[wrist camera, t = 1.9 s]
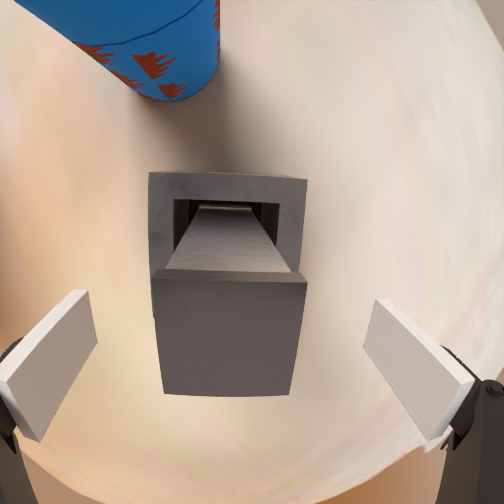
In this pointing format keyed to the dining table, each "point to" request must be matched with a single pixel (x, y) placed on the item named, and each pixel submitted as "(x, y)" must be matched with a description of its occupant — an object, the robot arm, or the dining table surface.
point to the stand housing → (228, 189)
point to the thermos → (142, 40)
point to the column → (227, 309)
